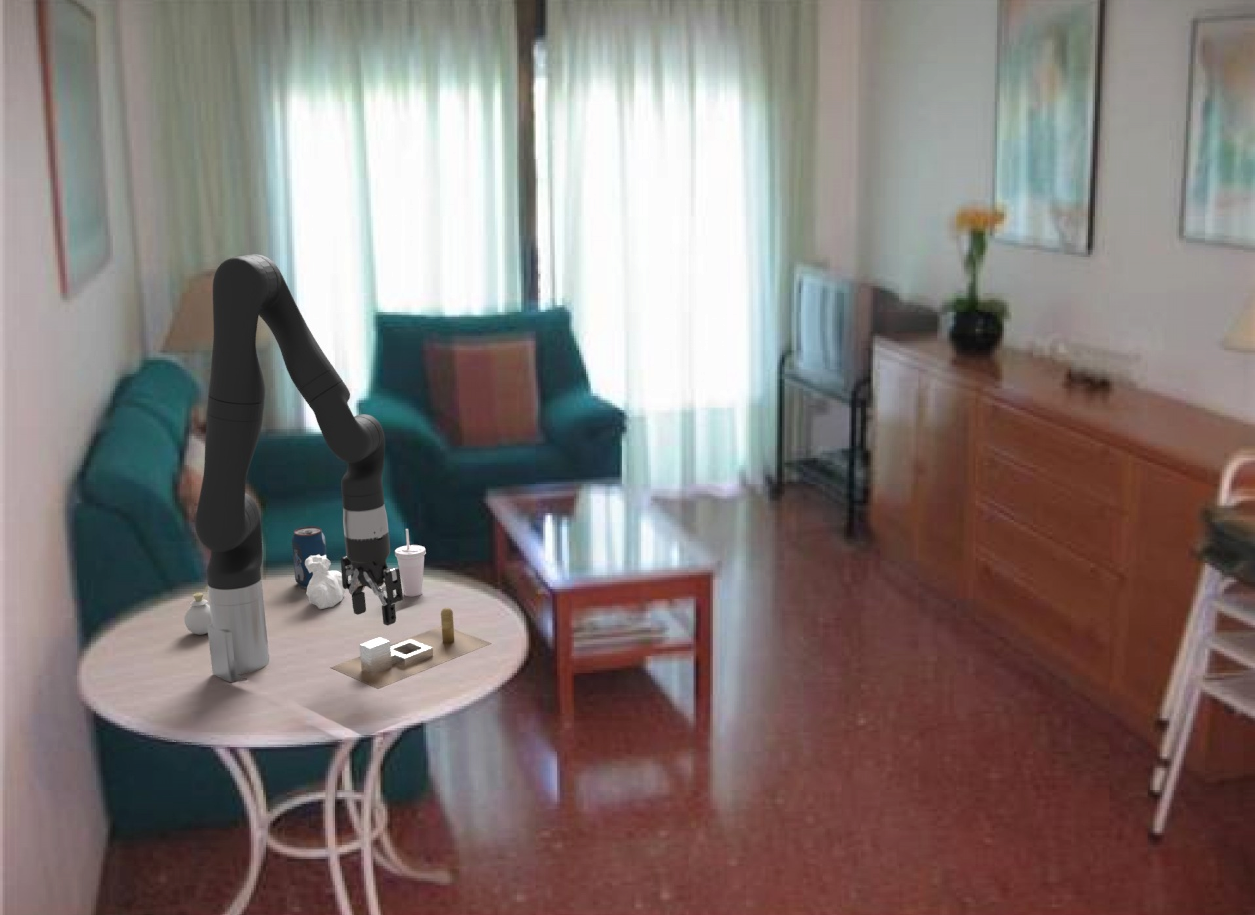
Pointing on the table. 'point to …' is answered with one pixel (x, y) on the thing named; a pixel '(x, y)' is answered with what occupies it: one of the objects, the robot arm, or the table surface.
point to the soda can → (306, 551)
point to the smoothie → (411, 567)
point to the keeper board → (444, 649)
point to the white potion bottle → (198, 615)
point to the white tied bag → (323, 583)
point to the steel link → (391, 654)
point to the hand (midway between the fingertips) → (374, 618)
